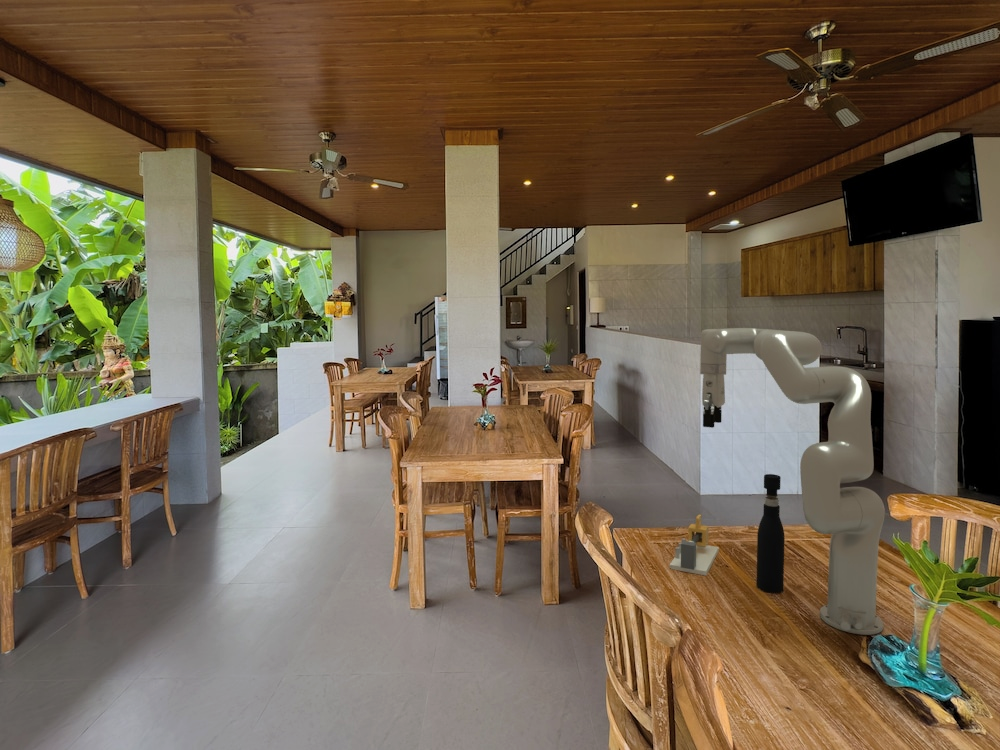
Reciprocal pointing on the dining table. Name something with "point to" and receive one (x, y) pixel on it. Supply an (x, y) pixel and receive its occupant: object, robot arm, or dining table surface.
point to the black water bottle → (770, 541)
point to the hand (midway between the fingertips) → (712, 424)
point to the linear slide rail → (694, 556)
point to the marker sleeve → (700, 529)
